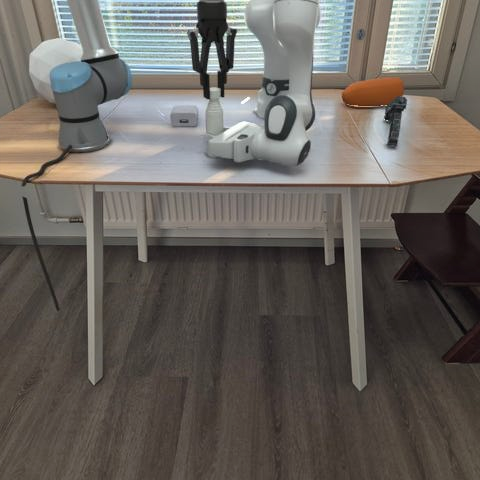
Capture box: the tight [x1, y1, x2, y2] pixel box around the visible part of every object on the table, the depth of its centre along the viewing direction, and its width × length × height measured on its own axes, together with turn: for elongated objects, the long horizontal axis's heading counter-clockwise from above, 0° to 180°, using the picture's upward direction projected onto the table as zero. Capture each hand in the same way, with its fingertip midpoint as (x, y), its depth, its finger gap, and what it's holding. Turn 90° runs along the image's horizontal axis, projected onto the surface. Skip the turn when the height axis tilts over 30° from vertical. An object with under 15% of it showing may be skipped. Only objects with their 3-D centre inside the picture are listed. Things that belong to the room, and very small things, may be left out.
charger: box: [169, 105, 199, 127], centre depth 148 cm, size 5×9×15 cm
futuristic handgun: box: [383, 95, 408, 147], centre depth 138 cm, size 4×29×15 cm, turn 164°
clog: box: [341, 76, 405, 109], centre depth 165 cm, size 12×11×25 cm
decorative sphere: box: [28, 37, 83, 105], centre depth 157 cm, size 24×25×25 cm
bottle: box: [204, 98, 224, 159], centre depth 119 cm, size 5×5×19 cm
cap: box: [210, 86, 222, 99], centre depth 114 cm, size 4×4×2 cm
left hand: (213, 96), depth 114 cm, fingers closed on cap, 4 cm apart
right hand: (212, 133), depth 120 cm, fingers closed on bottle, 5 cm apart
